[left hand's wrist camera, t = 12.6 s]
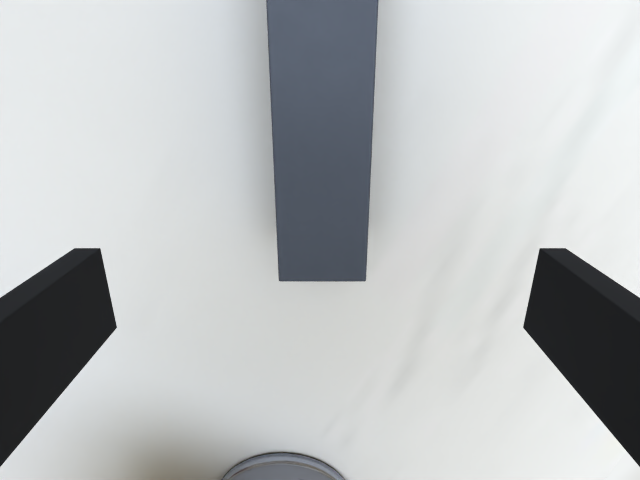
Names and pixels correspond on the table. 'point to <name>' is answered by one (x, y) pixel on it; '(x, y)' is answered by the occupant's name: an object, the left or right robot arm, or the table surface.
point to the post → (322, 134)
